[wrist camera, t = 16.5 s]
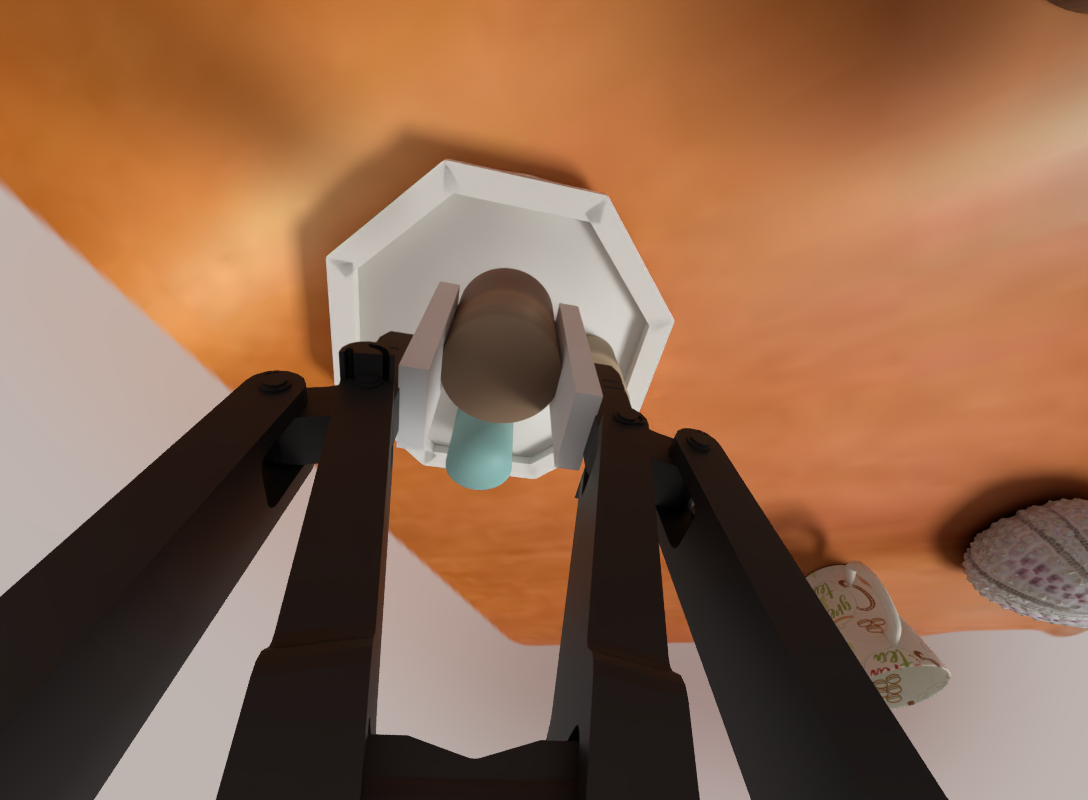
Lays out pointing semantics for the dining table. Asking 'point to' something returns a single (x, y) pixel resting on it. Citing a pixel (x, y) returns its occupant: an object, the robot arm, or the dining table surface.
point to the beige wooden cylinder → (604, 354)
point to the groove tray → (489, 243)
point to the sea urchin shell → (1036, 562)
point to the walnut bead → (502, 348)
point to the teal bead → (479, 452)
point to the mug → (879, 634)
